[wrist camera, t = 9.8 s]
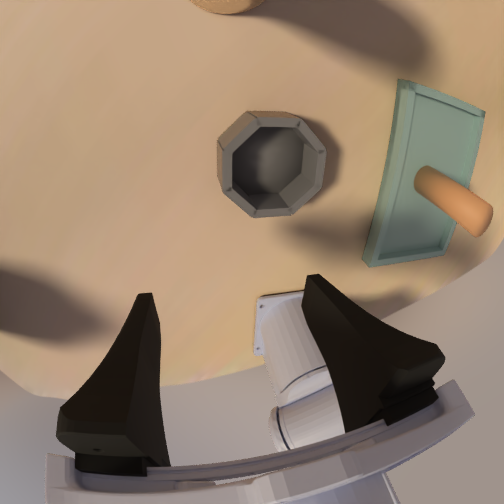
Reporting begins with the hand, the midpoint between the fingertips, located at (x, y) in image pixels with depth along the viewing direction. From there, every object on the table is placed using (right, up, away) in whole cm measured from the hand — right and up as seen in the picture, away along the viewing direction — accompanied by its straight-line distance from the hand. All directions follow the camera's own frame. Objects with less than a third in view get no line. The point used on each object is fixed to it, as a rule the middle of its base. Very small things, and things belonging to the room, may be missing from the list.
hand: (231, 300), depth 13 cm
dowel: (+18, +9, +11) cm, 22 cm away
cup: (+2, +9, +7) cm, 12 cm away
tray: (+18, +9, +11) cm, 24 cm away
